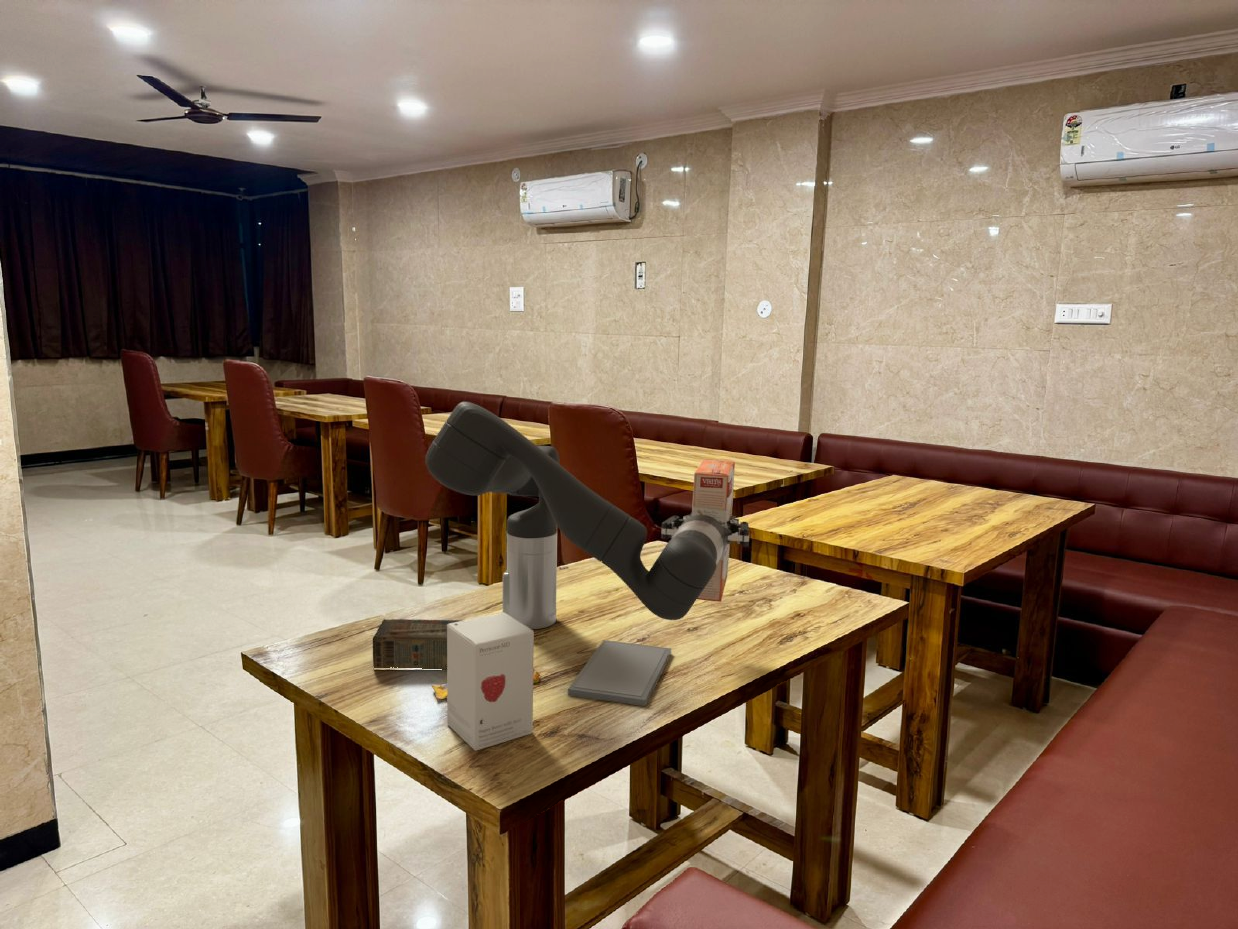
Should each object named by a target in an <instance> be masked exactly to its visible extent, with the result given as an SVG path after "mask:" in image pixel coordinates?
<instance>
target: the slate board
mask: <svg viewBox="0 0 1238 929" xmlns="http://www.w3.org/2000/svg"><path fill="white" fill-rule="evenodd" d="M671 654H672V648H671V647H665V646H664V647H663V646H655V645H646V644H639V643H638V644H637V643H631V642H630V643H629V642H624V641H614V640H608V639H607V640H606V639H603V640H602V642H601V643H600V644H599V645H598V647H597V648H596V650H595V651H594V653H593V654H592V656H591V657H590V658H589V660H588V661H587V662H586V664H585V665H584V666H583V667H582V669H581V670H580V672H579V673H578V675H577V676H576V677H575V679H574V680H573V682H572V683H570V686H569V687H568V688H567V696H570V697H571V696H572V697H579V698H583V699H585V698H586V699H593V700H600V701H605V702H613V703H621V704H628V705H634V706H635V705H636V706H641V707H646V706H647V704H648V701H649V700H650V698H651V696H652V694H653V691H654V690H655V688H656V686H657V683H658V681H659V679H660V677H661V676H662V673H663V671H664V669H665V667H666V665H667V663H668V661H669V659H670V656H671Z"/></svg>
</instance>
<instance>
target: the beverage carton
mask: <svg viewBox="0 0 1238 929" xmlns="http://www.w3.org/2000/svg"><path fill="white" fill-rule="evenodd" d="M464 620H465V619H463V620H462V619H461V620H458V619H456V620H455V619H454V620H453V619H407V618H402V619H401V618H399V619H395V618H392V619H383V620H382V622H381V623H380V625H379V627H378V628H377V630H376V632H375V633H374V636H373V637H372V664H373V665H372V666H373V667H374V668H390V667H392V668H393V667H394V668H397V667H398V668H422V669H442V670H447V624H450V623H454V622H459V621H464ZM374 668H373V669H374Z"/></svg>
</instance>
